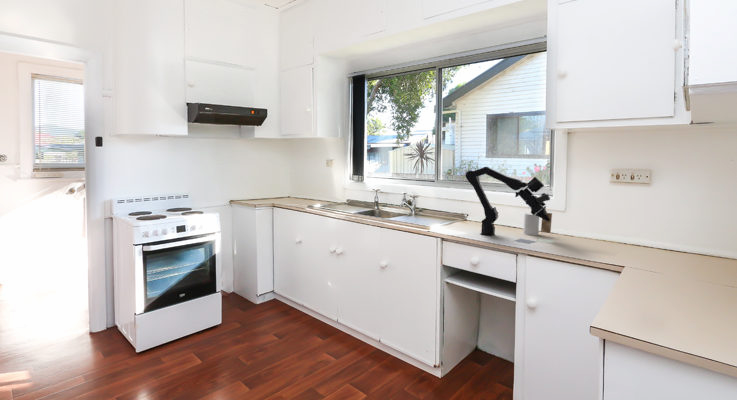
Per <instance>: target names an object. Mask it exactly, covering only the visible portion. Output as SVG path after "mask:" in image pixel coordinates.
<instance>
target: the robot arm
mask: <svg viewBox="0 0 737 400" xmlns="http://www.w3.org/2000/svg"><path fill="white" fill-rule="evenodd" d="M483 175H487V176H490V177H491V178H493V179H495V180H496V181H497V180H498V181H500V182H502V183H503V184H504V185H506V186H507V187H509V188H510V189H511V190H513V191H515V193H514V194H515V198H517V197H520V198H521V200H522V201H524V202H525V204H526V205H528V207H529V208H530V213H532V214H533V215H536V216H538V217H539V219H541V220H542V219H544V220H546V221H550V219H549V218H548V216H547V215H546V213H548V212H547V210H546V209H547V205H546V203H545V202H547V201H550V200H551V197H550V195H549V193H545V192H543V193H541V195H540V196H536V195H534V192H535V193H537V192H539V191H540V190H541V189H543V187H545V185H544V183H543V182H542V181H541V180H540V179H538V177H536V176H534V177H532V179H530V181H528V182H523V181H522V180H521V179H518V178H515V177H511V176H507V175H505V174H503V173H501V172H499V171H497V170H494V169H492V168H490V167H489V166H484V167H481V168H478V169H474V170H473V169H471V170H468V171H466V173H465V179H466V180H467V181H468V183H470V185H471V186H472V187H473V189H474V191H475V193H476V195H477V197H478V199H479V202H480V204H481V206H482V207H483V211H484V216H485V218H483V219H482V220H481V230H480V231H481V232H480V233H479V235H481V236H483V235H484V236H489V237H492V236H495V233H496V227H495V222H496V221H497V220H498V218H499V212H498V211H497V207H496V206H494V207H493V206H492V205H491V203H490V201H489V198H488V197H487V194H486V193H485V190H484V189H483V187H482V185H481V182H480V177H481V176H483ZM523 188H524V189H523Z"/></svg>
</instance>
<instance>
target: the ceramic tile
mask: <svg viewBox="0 0 737 400" xmlns="http://www.w3.org/2000/svg"><path fill="white" fill-rule="evenodd" d="M536 241H537V243H538V242H540V243H548V244H554V241H555V240H553V239H546V238H545V239H544V238H537V240H536Z"/></svg>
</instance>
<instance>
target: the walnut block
mask: <svg viewBox="0 0 737 400" xmlns="http://www.w3.org/2000/svg"><path fill="white" fill-rule="evenodd" d="M546 215H547V216H548V218H549V219H550V221H546V220H544V219H542V218H541V227H540V232H541V233H548V234H551V231H552V221H553V220H552V218H553V213H552V212H547V213H546Z"/></svg>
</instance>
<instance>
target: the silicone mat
mask: <svg viewBox="0 0 737 400" xmlns="http://www.w3.org/2000/svg"><path fill="white" fill-rule="evenodd" d="M513 242H517V243H521V244H526V245H530V244H534V243H536V242H537V243H538V241H537V240H536V241H535V240H530V239H524V238H518V239H515V240H513Z"/></svg>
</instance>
